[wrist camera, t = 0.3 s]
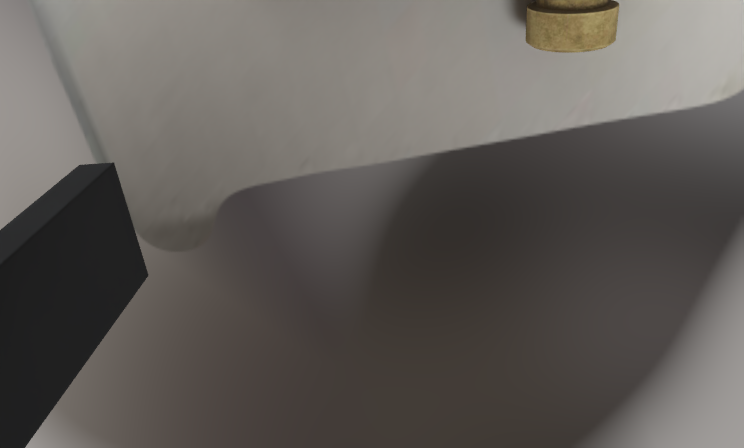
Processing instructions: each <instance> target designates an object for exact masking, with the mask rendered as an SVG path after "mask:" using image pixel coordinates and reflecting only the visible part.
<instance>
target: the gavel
mask: <svg viewBox="0 0 744 448" xmlns="http://www.w3.org/2000/svg"><path fill="white" fill-rule="evenodd" d="M618 11H619V3H617V2H616V1H613V0H536V2H532V3H530V4H529V5H527V20H526V42H527V43H528V44H530V45H531V46H533V47H534V48H537V49H540V50H545V51H552V52H586V51H593V50H598V49H602V48H605V47H607V46H609V45H610V44H612V43H613V42H615V40H616V31H617V21H618Z"/></svg>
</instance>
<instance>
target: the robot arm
mask: <svg viewBox="0 0 744 448" xmlns="http://www.w3.org/2000/svg"><path fill="white" fill-rule="evenodd" d="M147 277H148V273H147V269H146V266H145V263H144V259H143V256H142V253H141V249H140V246H139V243H138V240H137V236H136V233H135V230H134V227H133V223H132V220H131V217H130V214H129V210H128V207H127V204H126V201H125V197H124V194H123V191H122V188H121V184H120V181H119V178H118V175H117V171H116V168H115V165H114V163H102V164H88V165H79V166H78V167H76V168H75V169H74V170H73V171H71V172H70V173H69V174H68V175H67V176H65V177H64V178H63V179H62V180H61V181H59V182H58V183H57V184H56V185H54V186H53V187H52V188H51V189H50V190H48V191H47V192H46V193H45V194H44V195H43V196H41V197H40V198H39V199H38V200H37V201H35V202H34V203H33V204H32V205H30V206H29V207H28V208H27V209H25V210H24V211H23V212H22V213H21V214H19V215H18V216H17V217H16V218H14V219H13V220H12V221H11V222H10V223H8V224H7V225H6V226H5V227H4V228H2V229H1V230H0V448H25V447H26V445H27V444H28V443H29V441H30V440H31V438H32V437H33V435H34V434H35V433H36V431H37V430H38V429H39V427H40V426H41V424H42V423H43V422H44V420H45V419H46V417H47V416H48V415H49V413H50V412H51V410H52V409H53V408H54V406H55V405H56V404H57V402H58V401H59V399H60V398H61V396H62V395H63V394H64V392H65V391H66V390H67V388H68V387H69V385H70V384H71V383H72V381H73V379H74V378H75V377H76V376H77V374H78V373H79V371H80V370H81V369H82V367H83V366H84V364H85V363H86V362H87V360H88V359H89V357H90V356H91V355H92V353H93V352H94V351H95V349H96V348H97V346H98V345H99V344H100V342H101V341H102V339H103V338H104V336H105V335H106V334H107V332H108V331H109V330H110V328H111V327H112V325H113V324H114V323H115V321H116V320H117V318H118V317H119V316H120V314H121V313H122V312H123V310H124V309H125V307H126V306H127V305H128V303H129V302H130V300H131V299H132V298H133V296H134V295H135V293H136V292H137V290H138V289H139V288H140V286H141V285H142V283H143V282H144V281H145V279H146V278H147Z"/></svg>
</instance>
